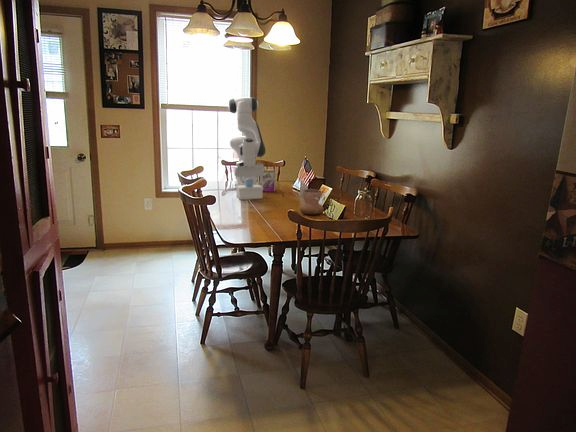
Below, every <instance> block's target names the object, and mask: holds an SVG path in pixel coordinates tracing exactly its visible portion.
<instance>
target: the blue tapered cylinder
mask: <svg viewBox="0 0 576 432" xmlns="http://www.w3.org/2000/svg"><path fill="white" fill-rule="evenodd" d="M246 187H253V179H246Z"/></svg>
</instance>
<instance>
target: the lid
mask: <svg viewBox="0 0 576 432" xmlns="http://www.w3.org/2000/svg"><path fill="white" fill-rule="evenodd" d="M235 187H237V188H238V189H239V191H260V190H263V187H262V186H260V184H257V185H253V187H246V185H235Z"/></svg>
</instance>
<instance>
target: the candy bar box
mask: <svg viewBox="0 0 576 432" xmlns="http://www.w3.org/2000/svg"><path fill="white" fill-rule="evenodd" d="M263 171H264V175H263V176H259V185H260V186H262V187H263V192H264V193H265V192H267V193H274V192H275V191H276V169H267V168H263Z"/></svg>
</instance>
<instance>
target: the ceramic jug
mask: <svg viewBox="0 0 576 432" xmlns="http://www.w3.org/2000/svg"><path fill="white" fill-rule="evenodd" d="M301 192H302V198H303V201H304V202H303V203H302V204H301V205H300V206H299V211H300V213H302V214H304V215H307V214H308V215H309V216H315V215H316V216H317V215H320V214H322V213H323V212H324V209H325V208H324V207H323V205H321V203H319V202H320V200H321V198H322V196H323V195H322V194H323V190H320V189H315V188H306V189H302V190H301Z"/></svg>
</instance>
